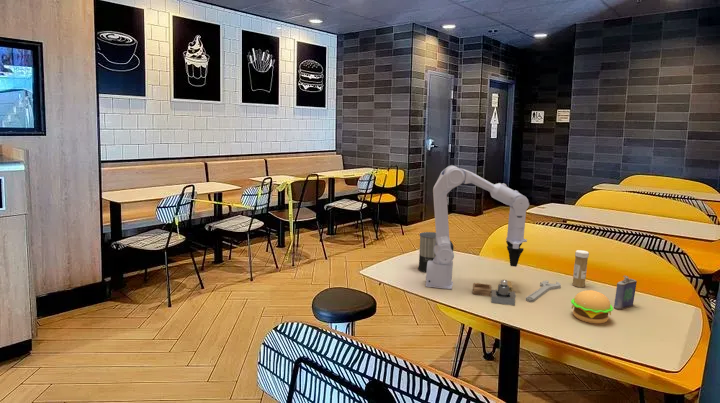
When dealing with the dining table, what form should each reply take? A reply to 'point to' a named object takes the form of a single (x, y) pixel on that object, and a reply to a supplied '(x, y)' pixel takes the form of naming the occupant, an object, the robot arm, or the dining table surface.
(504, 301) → the socket block
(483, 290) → the brown square tray
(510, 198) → the robot arm
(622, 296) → the flask
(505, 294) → the grey knob
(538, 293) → the adjustable wrench
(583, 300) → the hamburger
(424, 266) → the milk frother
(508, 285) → the bar
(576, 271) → the sprinkles bottle
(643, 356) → the dining table surface
